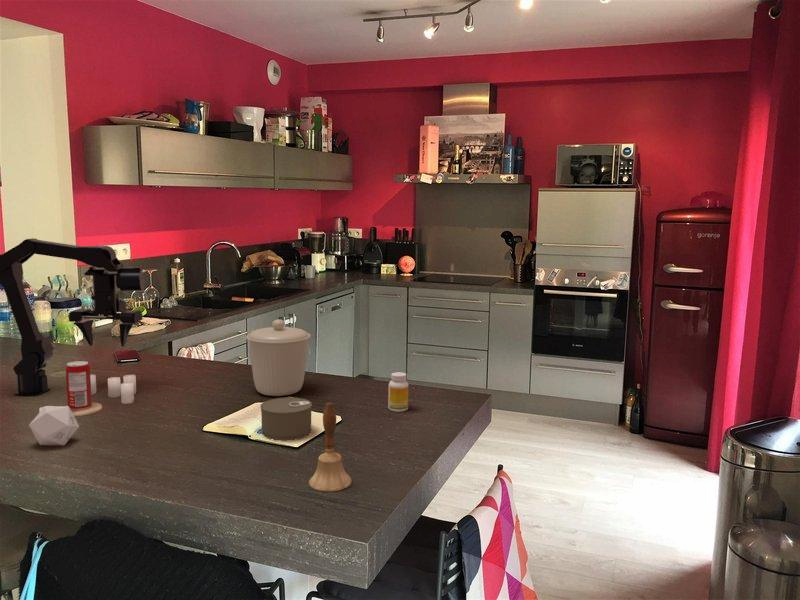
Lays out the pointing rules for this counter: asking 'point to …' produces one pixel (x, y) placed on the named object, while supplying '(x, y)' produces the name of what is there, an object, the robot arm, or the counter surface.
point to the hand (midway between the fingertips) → (107, 346)
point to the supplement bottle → (398, 392)
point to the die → (54, 425)
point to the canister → (278, 358)
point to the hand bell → (330, 459)
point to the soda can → (78, 385)
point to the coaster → (88, 410)
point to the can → (286, 418)
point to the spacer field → (117, 388)
